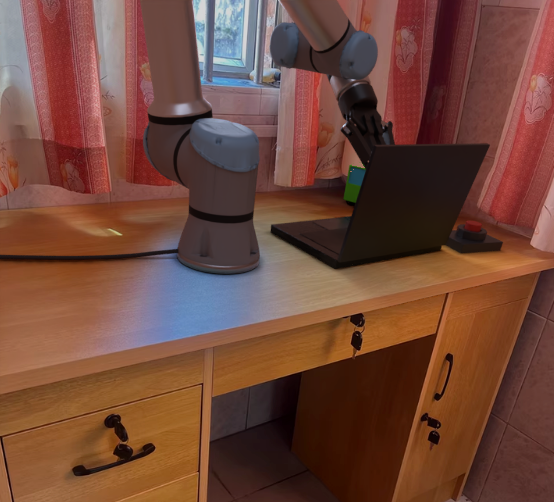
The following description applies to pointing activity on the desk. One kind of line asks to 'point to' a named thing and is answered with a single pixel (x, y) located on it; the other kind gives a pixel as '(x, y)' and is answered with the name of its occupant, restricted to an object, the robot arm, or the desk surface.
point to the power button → (473, 226)
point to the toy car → (353, 183)
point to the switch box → (472, 241)
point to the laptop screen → (410, 198)
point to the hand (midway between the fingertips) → (395, 199)
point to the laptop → (329, 241)
